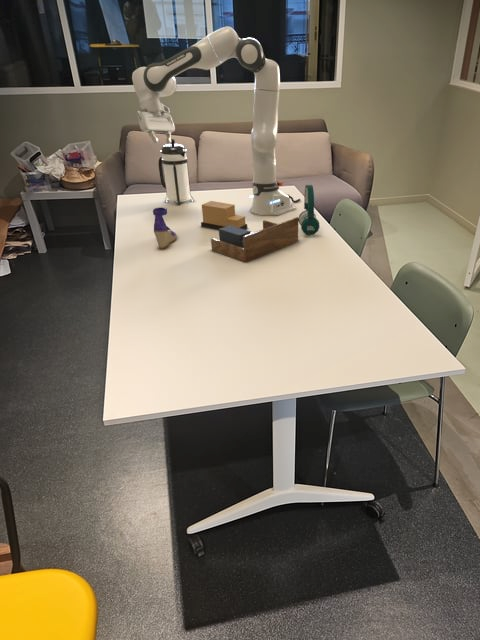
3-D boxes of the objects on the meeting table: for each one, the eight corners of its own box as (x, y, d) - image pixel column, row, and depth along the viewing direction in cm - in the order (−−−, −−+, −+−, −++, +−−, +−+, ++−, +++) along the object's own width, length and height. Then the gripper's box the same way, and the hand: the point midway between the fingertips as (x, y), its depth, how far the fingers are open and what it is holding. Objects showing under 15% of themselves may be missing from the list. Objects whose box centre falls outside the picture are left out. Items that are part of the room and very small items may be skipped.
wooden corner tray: (211, 250, 206) (209, 226, 200) (264, 231, 226) (264, 208, 220) (245, 262, 195) (244, 236, 190) (298, 241, 215) (298, 217, 210)
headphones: (315, 226, 232) (316, 180, 220) (319, 237, 220) (321, 189, 208) (297, 226, 231) (298, 181, 220) (301, 237, 219) (301, 189, 208)
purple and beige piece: (181, 234, 222) (176, 199, 214) (167, 250, 206) (162, 213, 198) (163, 233, 223) (158, 198, 214) (148, 249, 207) (142, 212, 198)
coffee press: (195, 196, 273) (189, 136, 255) (192, 205, 260) (185, 141, 242) (163, 197, 272) (154, 136, 255) (158, 205, 259) (149, 141, 242)
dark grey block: (218, 246, 209) (216, 228, 205) (230, 242, 214) (229, 224, 209) (252, 258, 199) (251, 239, 195) (264, 253, 203) (263, 234, 199)
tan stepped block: (201, 226, 231) (199, 204, 225) (211, 222, 237) (209, 200, 231) (237, 233, 223) (236, 210, 217) (247, 228, 229) (246, 206, 223)
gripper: (141, 105, 212) (152, 139, 216) (171, 108, 229) (181, 140, 233) (130, 111, 215) (142, 144, 219) (161, 113, 232) (171, 145, 236)
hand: (162, 142), depth 226 cm, fingers open, 8 cm apart
